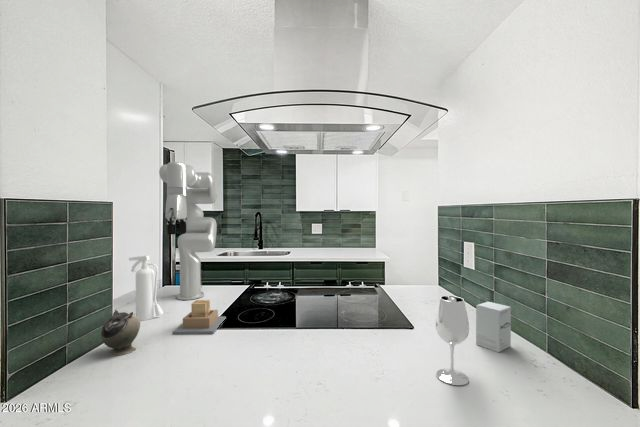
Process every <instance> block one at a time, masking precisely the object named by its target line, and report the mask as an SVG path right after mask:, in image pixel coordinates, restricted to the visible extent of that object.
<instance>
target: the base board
mask: <svg viewBox="0 0 640 427" xmlns="http://www.w3.org/2000/svg"><path fill="white" fill-rule="evenodd" d="M225 319H226V320H227V316H225V315H224V316H223V315H221V316H219V309H210V315H209V316H208V317H192V311H190V312H189V313H188V314H187V315H184V317H183V318H182V323H181V324H180V325H179V326H177V327H176V328H175V329H174V330H172V335H214V334H215V333H216V332H217V330H218V329H219V328H220V327H219V325H220V324H221V323H222V322H223V321H224V320H225ZM226 320H225V321H226ZM225 321H224V322H225ZM224 322H223V323H224ZM223 323H222V324H223ZM222 324H221V325H222ZM218 327H219V328H218ZM217 328H218V329H217Z"/></svg>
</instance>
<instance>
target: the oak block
mask: <svg viewBox="0 0 640 427" xmlns="http://www.w3.org/2000/svg"><path fill="white" fill-rule="evenodd" d="M190 308H191V312H192V317H208V316H209V315H210V310H211V299H195V301H194V302H192V303H191V307H190Z"/></svg>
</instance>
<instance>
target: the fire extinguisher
mask: <svg viewBox="0 0 640 427" xmlns="http://www.w3.org/2000/svg"><path fill="white" fill-rule="evenodd" d="M150 260H151V259H150V255H149V254H148V255H140V256H139V255H138V256H131V257H128V261H136V262H134V264H133V265H132V266H131V270H130V271H131V272H132V273H135V315H136V316H137V317H138V319H139V321H140V322H141V321H149V320H152V319H155V317H158V316H161V315H163V314H164V311H163V309H162V308H161V306H160V304H158V301H157V291H158V288H157V287H158V286H157V285H158V277H159V267H158V264H156V263H154V262H152V261H151V262H150ZM140 264H141V267H140V268H141V269H138V266H140ZM150 266H153V267H155V271H154V269H152V268H150ZM137 269H138V270H137Z"/></svg>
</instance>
